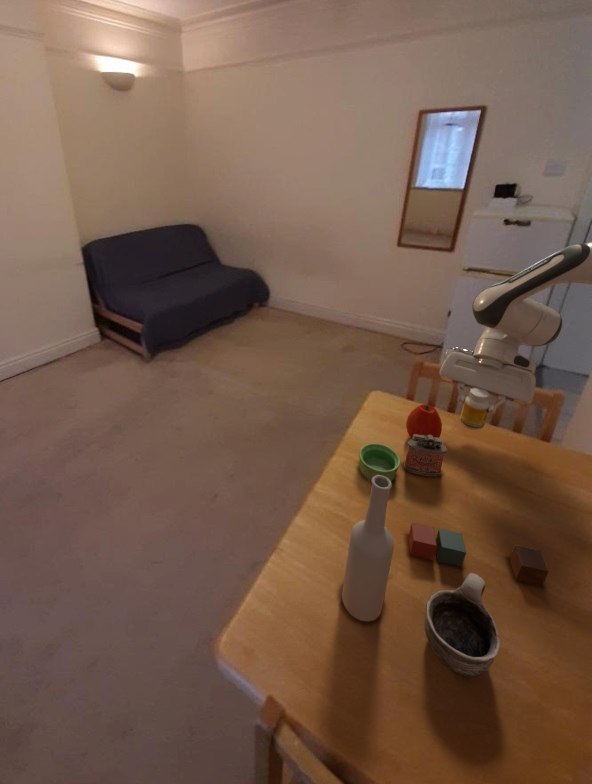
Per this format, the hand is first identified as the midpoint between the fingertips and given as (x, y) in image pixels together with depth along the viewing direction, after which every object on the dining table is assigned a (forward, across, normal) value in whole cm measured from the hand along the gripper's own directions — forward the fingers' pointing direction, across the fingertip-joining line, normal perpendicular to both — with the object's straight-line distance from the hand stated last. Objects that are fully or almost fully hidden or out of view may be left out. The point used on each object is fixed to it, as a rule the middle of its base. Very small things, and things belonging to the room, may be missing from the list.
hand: (475, 407), depth 99 cm
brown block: (+29, +17, -14) cm, 36 cm away
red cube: (+34, +1, -19) cm, 39 cm away
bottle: (+45, -4, -30) cm, 55 cm away
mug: (+42, +10, -28) cm, 52 cm away
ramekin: (+24, -13, -10) cm, 29 cm away
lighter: (+20, -6, -5) cm, 21 cm away
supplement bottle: (+4, 0, +4) cm, 6 cm away
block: (+32, +5, -18) cm, 37 cm away
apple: (+12, -9, +3) cm, 15 cm away
